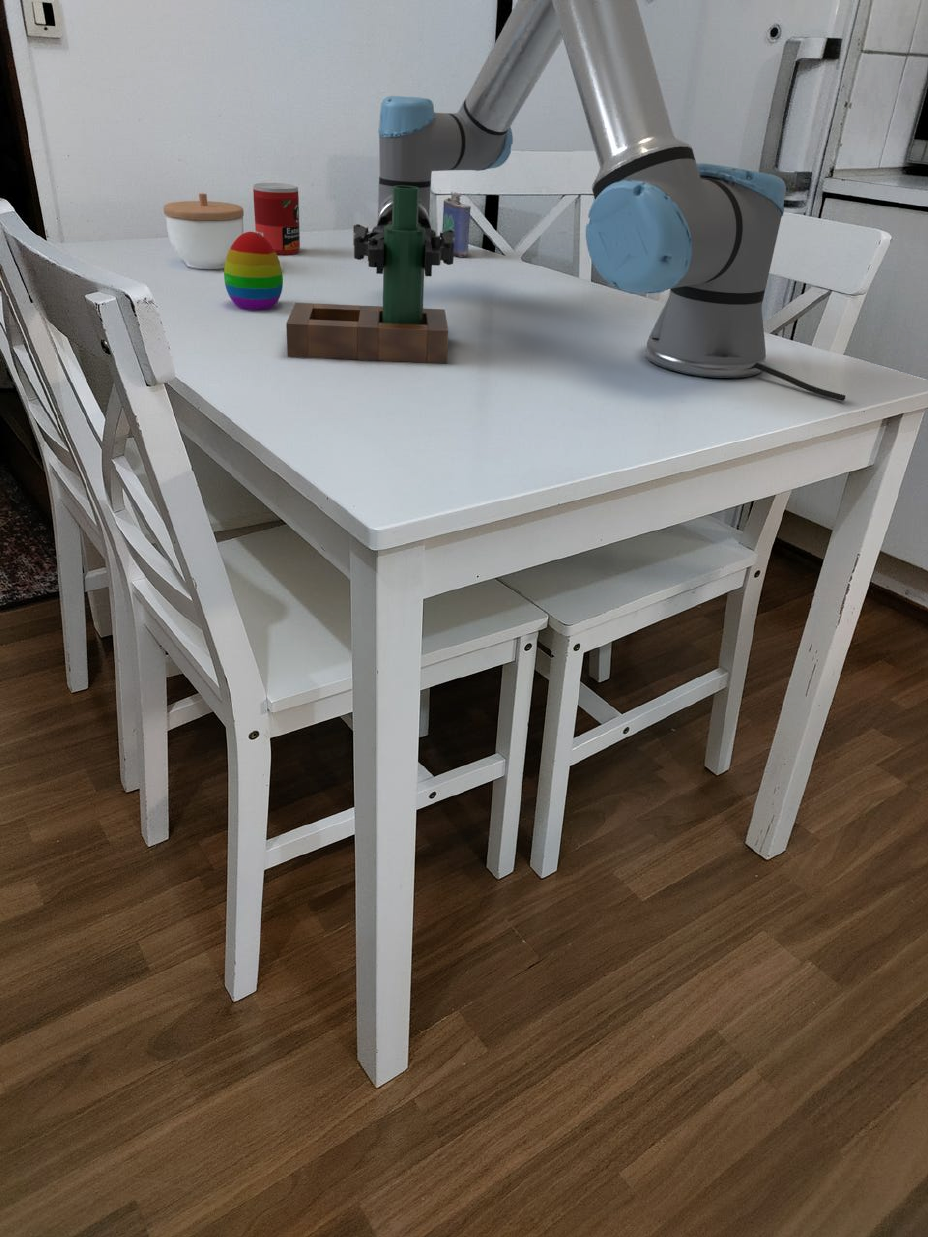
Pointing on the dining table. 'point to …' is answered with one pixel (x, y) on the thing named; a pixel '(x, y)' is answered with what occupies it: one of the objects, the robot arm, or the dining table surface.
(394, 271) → the bottle
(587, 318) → the dining table surface
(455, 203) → the flask
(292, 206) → the canned food
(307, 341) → the rack
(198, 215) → the lidded bowl
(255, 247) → the decorative egg
